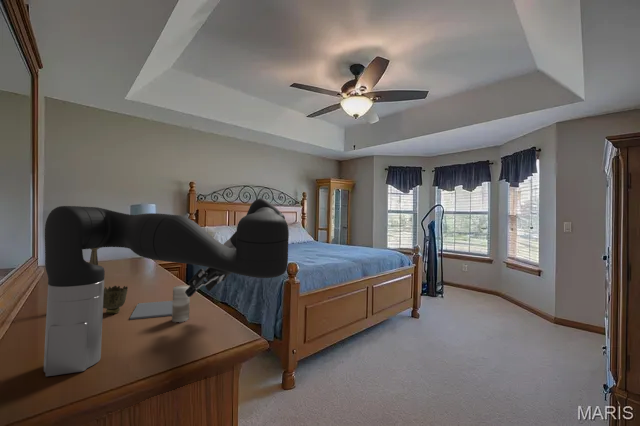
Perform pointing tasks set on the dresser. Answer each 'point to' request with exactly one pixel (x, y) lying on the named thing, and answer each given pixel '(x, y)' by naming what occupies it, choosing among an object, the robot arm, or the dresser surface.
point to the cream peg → (180, 304)
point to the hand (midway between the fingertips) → (198, 291)
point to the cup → (114, 298)
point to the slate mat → (152, 310)
